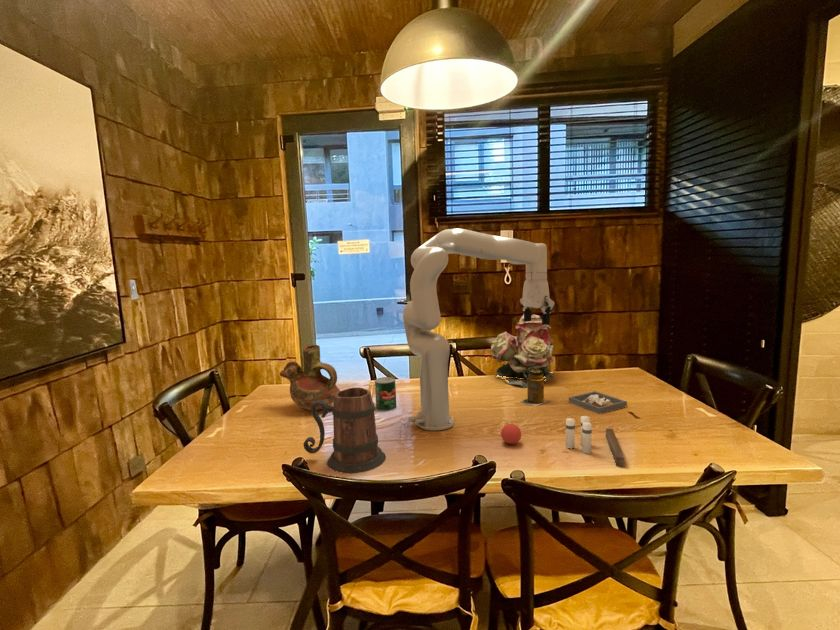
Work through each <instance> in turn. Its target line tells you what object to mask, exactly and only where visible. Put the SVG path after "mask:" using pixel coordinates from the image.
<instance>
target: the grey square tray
mask: <svg viewBox="0 0 840 630" xmlns="http://www.w3.org/2000/svg"><path fill="white" fill-rule="evenodd" d="M590 395H598V397H599V398H600V399H599V400H601V398H605V399H604V401H605V400H606V399H608V400H610V402H609V403H611V402H612V403H611V404H607V405H602V407H601V406H597V405H594V404H593V403H592V404H591V403H590V402H588V403H586V402H585V401H584V400H585V399H587V398H588V397H589V396H590ZM627 402H628V401H626V400H624V399H621V398H618V397H614V396H611V395H607V394H604V393H601V392H599V391H596V390H595V391H590V392H586V393H582V394H577V395H572V396H568V403H570V404H572V405H575V406H576V407H577V406H578V407H580V408H583V409H585V410H588V411H591V412H593V413H596V414H599V415H601V414H604V412H605V413H607V411H609V412H611V410H612V411H615V409H616V410H619V409H618V408H620V409H623V408H622V407H624V408H626V407H625V406H627V407H628V405H627V404H628V403H627ZM600 413H601V414H600Z"/></svg>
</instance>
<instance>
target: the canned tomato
mask: <svg viewBox="0 0 840 630" xmlns="http://www.w3.org/2000/svg"><path fill="white" fill-rule="evenodd" d="M374 389H375V410H376V411H379V412H390V410H391V411H394V410H396V409H397V392H396V391H397V390H396V389H397V387H396V378H394V377H392V376H386V377H385V376H382V377H379V378H376V379H375V380H374ZM393 409H394V410H393Z"/></svg>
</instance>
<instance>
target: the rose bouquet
mask: <svg viewBox="0 0 840 630" xmlns="http://www.w3.org/2000/svg"><path fill="white" fill-rule="evenodd" d="M518 321H519V322H517V323H516V324H515V326H514V327H515V330H516V336H514V335H512V334H510V332H509V333H508V332H507V331H504V332H502V333H499V334H498V335H497V336H496V338H495V340H493V341H491V343H492V344H491V345H490V348H491V353H492V354H491V357H492V359H494V360H496V363H497V364H498V363H501V362H507V363H503V364H502V366H500V367H498V368H497V370H496V371H495V375H494V377H495V376H497V375H499V376H502V377H503V376H506V377H517V378H526V379H525V380H526V381H517V380H518V379H516V380H513V379H514V378H506V380H508V381H509V383H506V384H508V385H518V386H521V387H522V388H524V389H528V379H527V378H528V377H529V376H528V375H529V373H528V372H529V371H530V370H541V371H542V372H543V375H544V376H545V377H546V378H543V379H544V380H545V379H547V380H551V379H552V380H553V379H555V377H554V375H553V373H551V372H550V370H549V367H550V364H551V363H553V362H554V359H553V349H554V344H553V343H552V341H553V340H555V338H553V337H552V338H551V337H550V335H549V330H551V329H552V327H551V326H550V325H549V324H546V325H542V316H540V315H537V314H535V313H534V314H531V321H528V322H524V313H523V315H522V316H521V317H520V318H519V320H518ZM544 376H543V377H544ZM546 382H547V381H546ZM546 382H545V381H544V385H545V384H546V385H547V383H546Z"/></svg>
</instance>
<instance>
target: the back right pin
mask: <svg viewBox="0 0 840 630" xmlns="http://www.w3.org/2000/svg"><path fill="white" fill-rule="evenodd" d="M592 427H593V425H592V423H591V422H590V423H589V422H583V428H582V445H581V446H582V447H581V450H582V453H583V454H585V453H587V454H586V455H590V454H589V453H591V454H592V432H593V428H592Z"/></svg>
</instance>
